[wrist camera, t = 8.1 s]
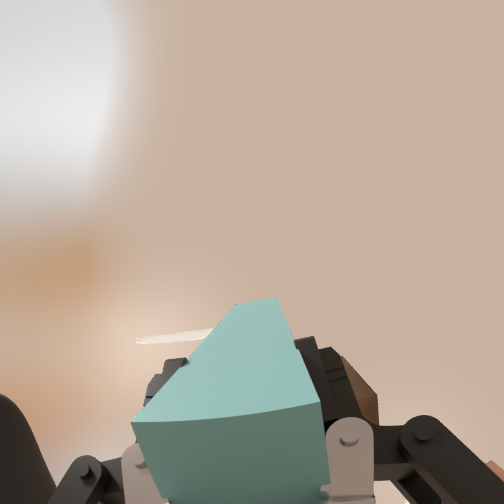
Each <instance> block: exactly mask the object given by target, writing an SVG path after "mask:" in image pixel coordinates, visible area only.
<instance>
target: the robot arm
mask: <svg viewBox="0 0 504 504" xmlns="http://www.w3.org/2000/svg"><path fill="white" fill-rule="evenodd" d="M294 345H295V347H296V349H299V352H300V354H301V356H302V359H303V361H304V364H305V366H306V368H307V371H308V373H309V376H310V378H311V380H312V383H313V385H314V388H315V390H316V392H317V395H318V397H319V400H320V403H321V410H322V417H323V425H324V432H325V440H326V448H327V456H328V464H329V473H330V482H331V484H327V485H323V486H321V489H320V496H319V500H318V504H376V501H375V496H374V492H373V483H374V481H383V480H384V481H385V480H390V481H391V482H392V483H393V484H394V485H395V486H396V488H397V489H398V490H399V491H400V492H401V493H402V495H403V496H404V497H405V498H406V499H407V500H408V501H409V503H410V504H504V481H503V480H502V479H501V478H499V477H498V476H497V475H496V474H495V473H494V472H493V471H492V470H491V469H490V468H489V467H488V466H487V465H486V464H485V463H484V462H482V461H481V460H480V459H479V458H478V457H477V456H476V455H475V454H474V453H473V452H472V451H471V450H470V449H469V448H468V447H467V446H465V445H464V444H463V443H462V442H461V441H460V440H459V439H458V438H457V437H456V436H455V435H454V434H453V433H452V432H451V431H449V430H448V429H447V428H446V427H445V426H444V425H443V424H442V423H441V422H440V421H439V420H438V419H436V418H434V417H432V416H428V415H421V416H416V417H414V418H412V419H410V420H409V421H408V422H406V424H405V425H401V426H380V425H376V424H373V423H371V422H370V421H368V420H367V419H366V418H365V417H364V416H363V415H362V413H361V410H360V408H359V405H358V402H357V399H356V397H355V394H354V391H353V388H352V386H351V383H350V380H349V379H348V375H347V372H346V370H345V367H344V364H343V362H342V359H341V356H340V355H339V354H338V353H337V352H336V351H335V350H333V348H332V347H328V348H323V349H318V347H317V344H316V341H315V338H314V336H311V337H306V338H301V339H296V340H294ZM186 362H187V359H186V358H176V359H168V360H166V361H165V363H164V368H163V373H162V374H155V375H154V377H153V378H152V380H151V381H150V383H149V384H148V387H147V392H146V399H145V401H144V405H143V406H144V407H145V406H146V405H147V403H148V402H149V401H150V400H151V399H152V398H153V397H154V396H155V395H156V394H157V392H158V391H159V390H160V389H161V388H162V387H163V386H164V385H165V384H166V382H167V381H168V380H169V379H170V378H171V377H172V376H173V375H174V374H175V372H176V371H177V370H178V369H179V368H180V367H182V366H183V365H184V364H185V363H186ZM0 504H171V502H170V501H169V499H167V498H162V497H161V495H160V493H159V491H158V489H157V487H156V484H155V482H154V480H153V478H152V475H151V473H150V471H149V469H148V466H147V464H146V461H145V459H144V457H143V454H142V452H141V449H140V446H139V444H138V441H137V439H136V443H135V444H133V445H131V446H130V447H128V448H127V449H126V450H125V452H124V453H123V455H122V457H120V458H116V459H112V460H108V461H103V462H99V461H98V460H97V459H96V458H94V457H92V456H89V455H85V456H81V457H79V458H77V459H76V460H75V461H74V462H73V463H72V464H71V466H70V467H69V469H68V471H67V472H66V474H65V475H64V477H63V478H62V480H61V482H60V483H59V485H58V487H56V485H55V483H54V481H53V478H52V476H51V474H50V472H49V470H48V468H47V465H46V463H45V461H44V459H43V456H42V455H41V452H40V449H39V447H38V444H37V442H36V440H35V437H34V435H33V432H32V430H31V428H30V426H29V424H28V422H27V420H26V418H25V417H24V415H23V413H22V412H21V411H20V409H19V408H18V407H17V405H16V404H14V402H12V401H11V400H10V399H9V398H8V397H6V396H4V395H2V394H0Z"/></svg>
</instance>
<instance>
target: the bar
mask: <svg viewBox="0 0 504 504" xmlns="http://www.w3.org/2000/svg"><path fill="white" fill-rule="evenodd" d="M131 425H132V427H133V430H134V433H135V436H136V439H137V441H138V444H139V446H140V449H141V452H142V454H143V457H144V459H145V461H146V464H147V466H148V469H149V471H150V473H151V475H152V478H153V480H154V482H155V484H156V487H157V489H158V491H159V493H160V495H161V497H162V498H167V499H169V501H170V502H171V504H318V500H319V496H320V489H321V486H323V485H327V484H331V482H330V473H329V464H328V456H327V448H326V440H325V432H324V425H323V417H322V410H321V403H320V400H319V397H318V395H317V392H316V390H315V388H314V385H313V383H312V380H311V378H310V376H309V373H308V371H307V368H306V366H305V364H304V361H303V359H302V356H301V354H300V352H299V349H296V347H295V345H294V337H293V335H292V332H291V330H290V328H289V325H288V323H287V321H286V318H285V316H284V314H283V311H282V309H281V307H280V304H279V301H278V299H277V297H273V298H268V299H263V300H257V301H252V302H246V303H241V304H236V305H234V307H233V308H232V309H231V310H230V311H229V312H228V314H227V315H226V316H225V317H224V318H223V319H222V320H221V321H220V323H219V324H218V325H217V326H216V327H215V328H214V329H213V331H212V332H211V333H210V334H209V335H208V336H207V337H206V339H205V340H204V341H203V342H202V343H201V344H200V345H199V347H198V348H197V349H196V350H195V351H194V352H193V353H192V355H191V356H190V357H189V358H188V359H187V362H186V363H185V364H184V365H183V366H182V367H180V368H179V369H178V370H177V371H176V372H175V374H174V375H173V376H172V377H171V378H170V379H169V380H168V381H167V382H166V384H165V385H164V386H163V387H162V388H161V389H160V390H159V391H158V392H157V394H156V395H155V396H154V397H153V398H152V399H151V400H150V401H149V402H148V403H147V405H146V406H145V407H144V408H143V409H142V410H141V411H140V412H139V413H138V414H137V415H136V417H135V418H134V419H133V420H132V421H131Z"/></svg>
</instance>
